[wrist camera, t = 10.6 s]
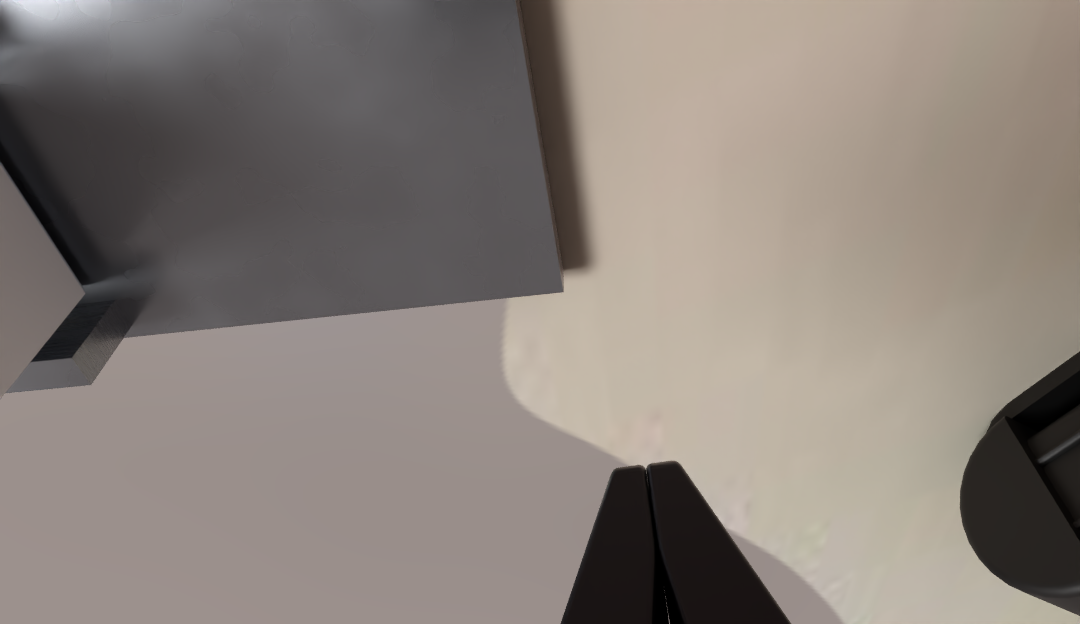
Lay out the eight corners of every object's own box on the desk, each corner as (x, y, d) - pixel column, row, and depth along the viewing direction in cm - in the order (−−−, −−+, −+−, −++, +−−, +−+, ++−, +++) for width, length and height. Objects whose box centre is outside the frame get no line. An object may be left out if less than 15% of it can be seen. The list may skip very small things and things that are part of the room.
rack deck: (502, -108, 16) (472, -17, 11) (563, 271, 22) (562, 442, 17) (-449, 50, 19) (-828, 181, 14) (-160, 348, 25) (-347, 516, 20)
